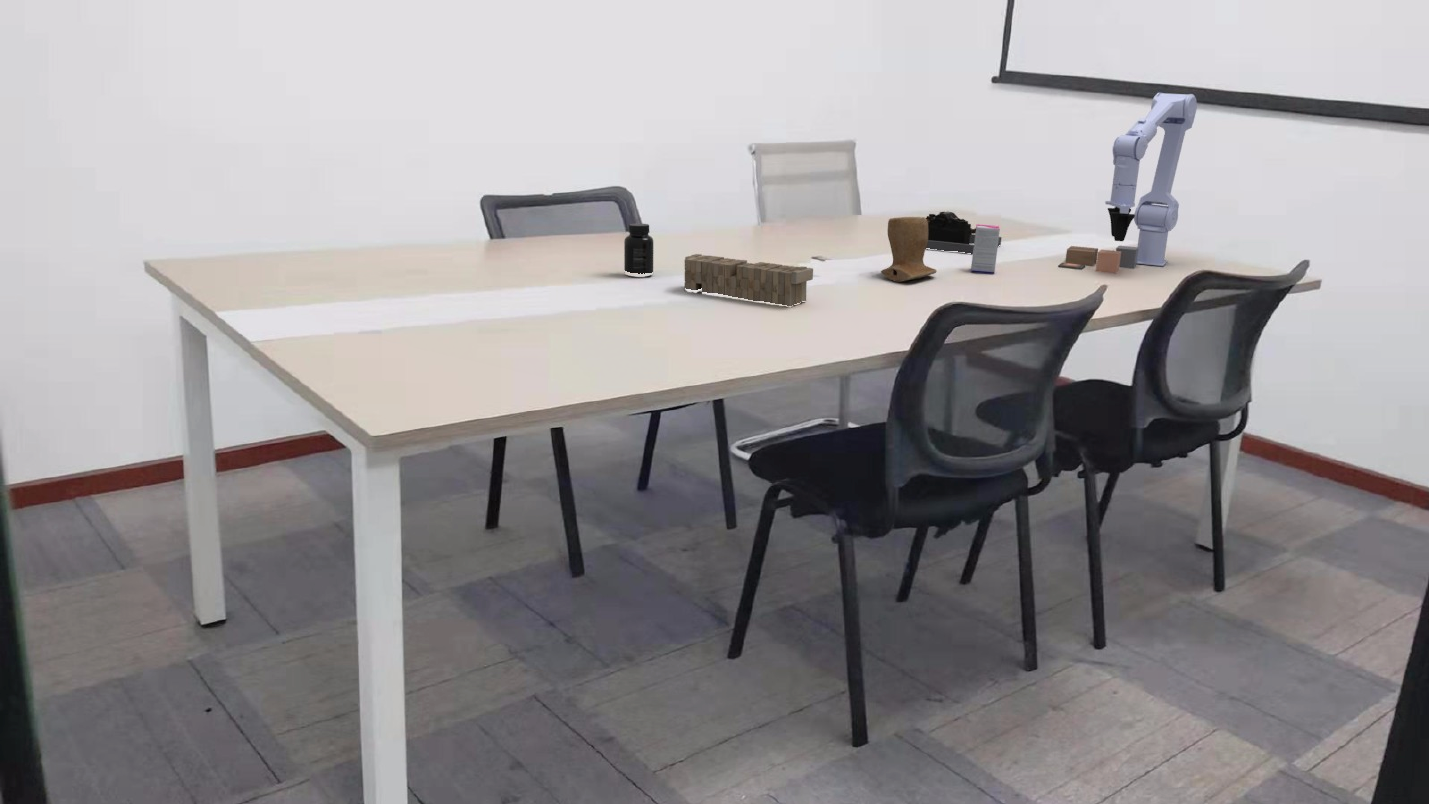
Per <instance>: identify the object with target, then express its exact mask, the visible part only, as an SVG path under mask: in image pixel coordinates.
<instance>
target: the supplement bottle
mask: <svg viewBox="0 0 1429 804" xmlns="http://www.w3.org/2000/svg"><path fill="white" fill-rule="evenodd" d="M627 232H628V235H627V236H626V237H625V238H624V241H623V242H624V245H623V246H624V249H623V250H624V252H623V253H624V255H623V256H624V257H623V258H624V259H623V260H624V263H623V266H624V270H625V271H627V272H630V273H638V274H640V273H641V274H643V273H644V274H645V273H652V272H653V273H654V239H653V237H652V236H651V235H649V234H650V224H648V223H634V222H633V223H630V224H628V231H627ZM624 270H623V271H624Z"/></svg>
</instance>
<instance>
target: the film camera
mask: <svg viewBox="0 0 1429 804" xmlns="http://www.w3.org/2000/svg"><path fill="white" fill-rule="evenodd" d="M925 218H926V219H927V222H928V240H931V241H941V242H951V243H961V244H970V243H969V241H970V236H971V234H975V233H976V227H975V228H972V224H971V223H969V220H966V219H964V218H959V217H958V216H957V215H956V213H954V212H952V211H939V213H938V214H935V213H929V214H928V215H927V216H926V217H925Z"/></svg>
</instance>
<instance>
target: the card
mask: <svg viewBox="0 0 1429 804" xmlns="http://www.w3.org/2000/svg"><path fill="white" fill-rule="evenodd" d="M1057 268H1065V269H1074V270H1083V269H1084V268H1086V266H1085V265H1079V264H1070V263H1065V262H1060V263H1059V264H1058V266H1057Z"/></svg>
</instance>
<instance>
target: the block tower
mask: <svg viewBox="0 0 1429 804" xmlns="http://www.w3.org/2000/svg"><path fill="white" fill-rule="evenodd" d="M813 279H814V268H812V267H807V266H793V265H792V266H791V265H784V264H778V263H771V262H763V261H760V262H759V261H758V262H756V263H752V262H748V260H746V259H735V258H728V257H726V258H725V257H724V256H716V255H704V254H701V253H695V254H691V255H688V256H685V258H684V289H685V288H686V289H691V290H698V289H701V288H702V292H707V293H718V294H723V295H728V296H732V297H738V298H744V299H748V300H753V301H764V302H770V303H775V304H782V305H787V306H792V305H794V304H797V303H800V302H802V301H806V302H807V282H809V281H812V280H813ZM702 292H701V293H702Z"/></svg>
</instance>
